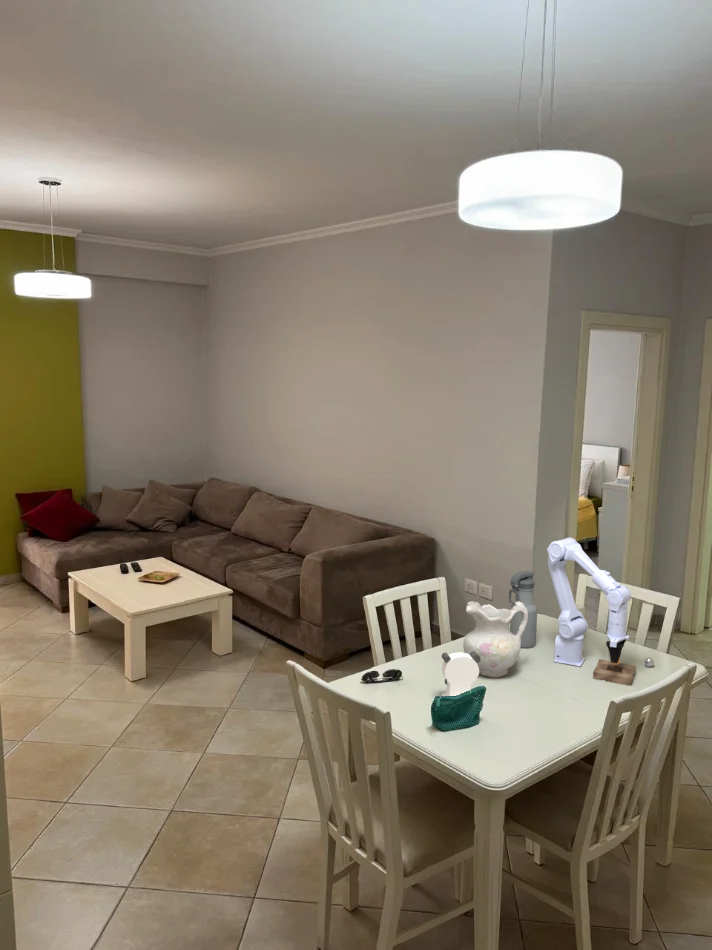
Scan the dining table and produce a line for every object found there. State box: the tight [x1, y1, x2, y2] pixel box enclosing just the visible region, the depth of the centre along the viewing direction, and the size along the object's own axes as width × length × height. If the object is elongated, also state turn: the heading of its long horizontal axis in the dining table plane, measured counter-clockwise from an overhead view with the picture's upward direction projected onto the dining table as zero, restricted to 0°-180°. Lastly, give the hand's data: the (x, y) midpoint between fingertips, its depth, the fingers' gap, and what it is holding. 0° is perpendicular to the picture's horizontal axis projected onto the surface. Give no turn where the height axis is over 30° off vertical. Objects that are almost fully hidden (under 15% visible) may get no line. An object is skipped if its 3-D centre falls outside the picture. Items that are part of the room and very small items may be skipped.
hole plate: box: [592, 659, 637, 686], centre depth 247 cm, size 12×12×2 cm
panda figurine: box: [440, 651, 481, 697], centre depth 228 cm, size 12×11×15 cm
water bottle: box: [508, 570, 538, 649], centre depth 274 cm, size 10×10×28 cm
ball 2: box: [643, 656, 655, 668], centre depth 255 cm, size 3×3×3 cm
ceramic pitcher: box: [462, 601, 528, 679], centre depth 250 cm, size 22×20×25 cm
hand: (615, 660), depth 247 cm, fingers closed on ball 1, 3 cm apart
